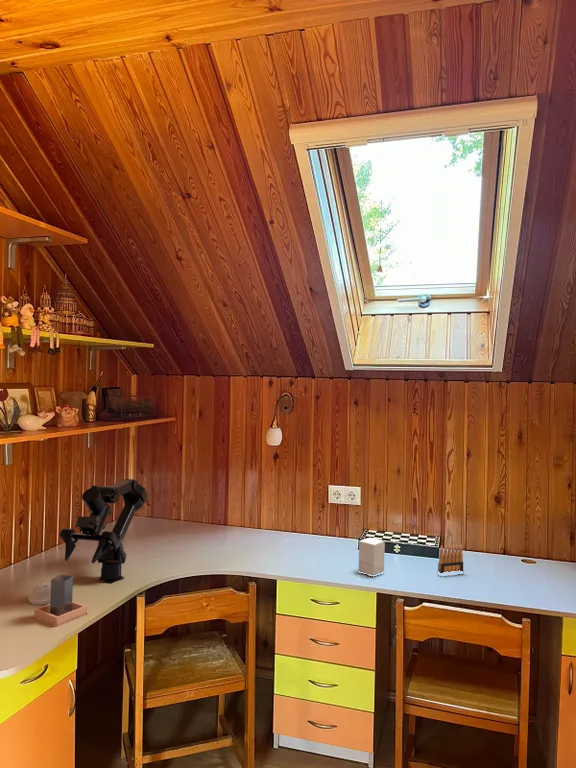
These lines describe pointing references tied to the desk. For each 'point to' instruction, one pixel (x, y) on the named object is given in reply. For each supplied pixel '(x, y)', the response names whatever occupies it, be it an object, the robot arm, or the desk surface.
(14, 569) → the desk surface
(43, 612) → the terracotta bin
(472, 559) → the desk surface
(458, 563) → the ammunition clip
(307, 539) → the desk surface
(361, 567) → the supplement box
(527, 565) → the desk surface
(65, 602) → the graphite square block
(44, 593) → the mechanical component
